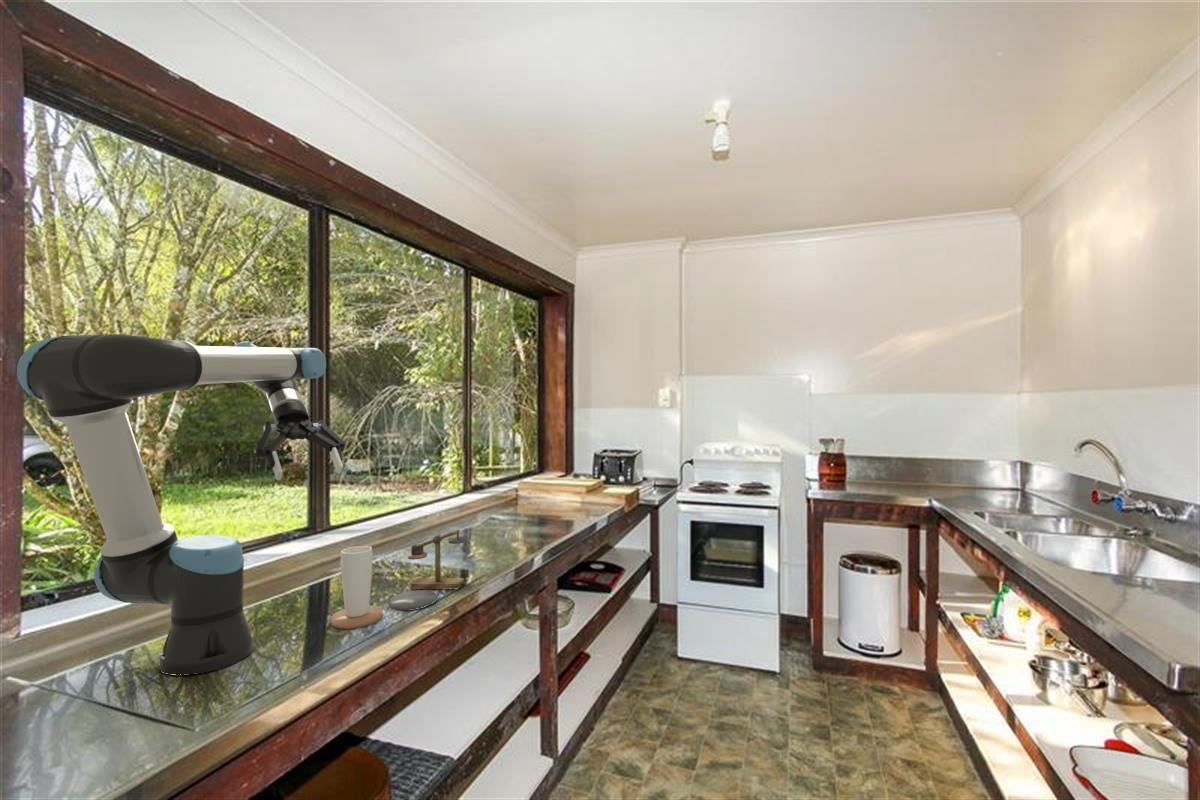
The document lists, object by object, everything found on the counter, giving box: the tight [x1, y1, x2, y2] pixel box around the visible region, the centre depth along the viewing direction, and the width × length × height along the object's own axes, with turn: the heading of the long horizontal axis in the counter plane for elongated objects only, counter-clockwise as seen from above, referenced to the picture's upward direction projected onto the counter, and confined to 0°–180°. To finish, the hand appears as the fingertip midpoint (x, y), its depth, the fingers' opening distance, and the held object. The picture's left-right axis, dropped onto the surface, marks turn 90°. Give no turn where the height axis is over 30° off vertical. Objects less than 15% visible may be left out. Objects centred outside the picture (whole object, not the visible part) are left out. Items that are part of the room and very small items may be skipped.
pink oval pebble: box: [330, 605, 384, 630], centre depth 127 cm, size 11×11×1 cm
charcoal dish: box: [389, 590, 437, 611], centre depth 138 cm, size 11×11×1 cm
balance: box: [407, 529, 468, 591], centre depth 150 cm, size 16×5×16 cm, turn 87°
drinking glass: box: [340, 545, 373, 617], centre depth 127 cm, size 7×7×15 cm
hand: (311, 473), depth 131 cm, fingers open, 13 cm apart
